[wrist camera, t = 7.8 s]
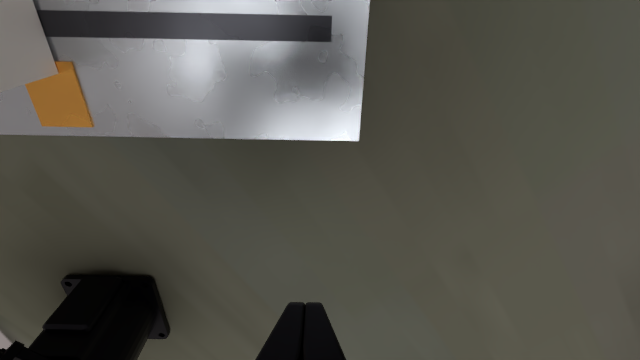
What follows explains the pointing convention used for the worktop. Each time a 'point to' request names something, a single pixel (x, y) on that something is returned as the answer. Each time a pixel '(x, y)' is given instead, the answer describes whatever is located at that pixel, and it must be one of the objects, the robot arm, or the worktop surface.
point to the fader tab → (22, 45)
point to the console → (197, 70)
